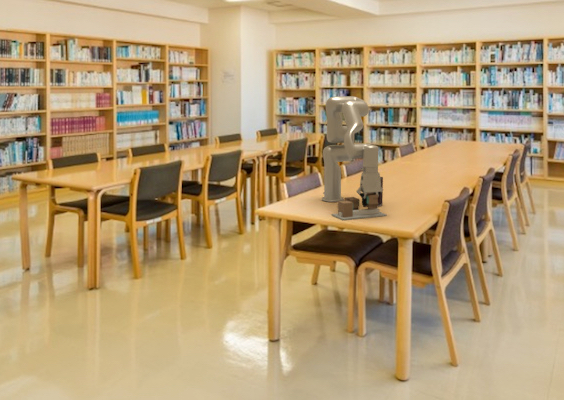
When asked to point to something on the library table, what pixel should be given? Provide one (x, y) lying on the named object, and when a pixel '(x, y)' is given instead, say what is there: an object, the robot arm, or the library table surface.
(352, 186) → the library table surface
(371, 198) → the block
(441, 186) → the library table surface
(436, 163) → the library table surface
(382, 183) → the supplement box
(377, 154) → the robot arm
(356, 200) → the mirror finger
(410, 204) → the library table surface
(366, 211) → the rail board
